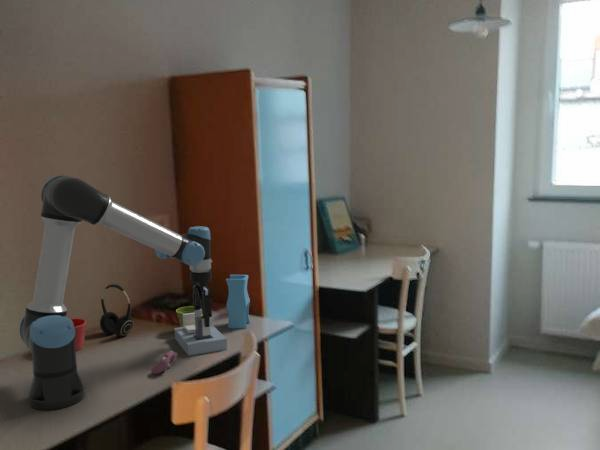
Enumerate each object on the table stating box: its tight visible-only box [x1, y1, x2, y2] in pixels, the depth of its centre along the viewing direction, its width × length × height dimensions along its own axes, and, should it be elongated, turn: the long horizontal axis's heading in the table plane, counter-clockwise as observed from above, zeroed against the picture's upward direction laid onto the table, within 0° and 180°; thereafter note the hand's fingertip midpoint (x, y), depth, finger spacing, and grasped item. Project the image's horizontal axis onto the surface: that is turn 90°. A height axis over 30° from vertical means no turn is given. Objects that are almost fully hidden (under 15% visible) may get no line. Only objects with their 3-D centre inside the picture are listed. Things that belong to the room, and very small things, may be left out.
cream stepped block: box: [183, 312, 203, 334], centre depth 217 cm, size 8×8×5 cm
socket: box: [174, 322, 228, 357], centre depth 213 cm, size 14×20×4 cm
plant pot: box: [175, 305, 195, 328], centre depth 227 cm, size 9×9×9 cm
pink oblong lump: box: [150, 350, 178, 375], centre depth 190 cm, size 10×5×7 cm, turn 170°
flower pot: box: [70, 317, 87, 352], centre depth 209 cm, size 11×11×10 cm
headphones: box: [99, 283, 134, 338], centre depth 222 cm, size 9×15×20 cm, turn 62°
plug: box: [195, 315, 209, 340], centre depth 209 cm, size 4×4×11 cm
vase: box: [225, 274, 251, 330], centre depth 233 cm, size 8×8×20 cm
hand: (202, 331), depth 209 cm, fingers open, 9 cm apart
